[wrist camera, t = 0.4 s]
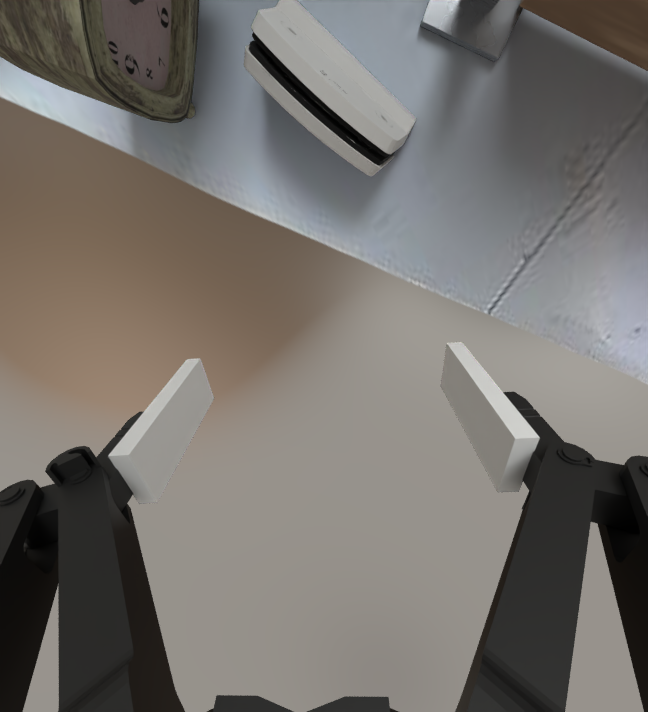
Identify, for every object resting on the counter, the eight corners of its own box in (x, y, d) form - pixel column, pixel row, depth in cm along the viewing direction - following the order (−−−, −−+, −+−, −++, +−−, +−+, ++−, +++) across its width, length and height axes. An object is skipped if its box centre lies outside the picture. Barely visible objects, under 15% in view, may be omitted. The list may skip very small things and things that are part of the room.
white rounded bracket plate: (419, 120, 32) (413, 142, 25) (389, 162, 35) (377, 191, 28) (287, -10, 28) (238, -25, 21) (267, 52, 31) (220, 55, 24)
